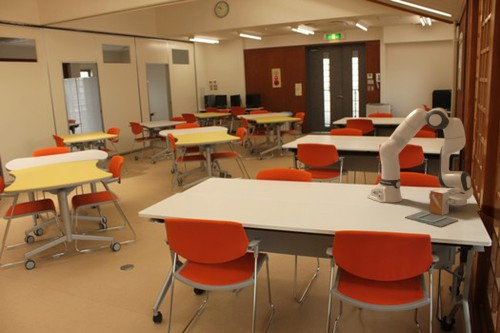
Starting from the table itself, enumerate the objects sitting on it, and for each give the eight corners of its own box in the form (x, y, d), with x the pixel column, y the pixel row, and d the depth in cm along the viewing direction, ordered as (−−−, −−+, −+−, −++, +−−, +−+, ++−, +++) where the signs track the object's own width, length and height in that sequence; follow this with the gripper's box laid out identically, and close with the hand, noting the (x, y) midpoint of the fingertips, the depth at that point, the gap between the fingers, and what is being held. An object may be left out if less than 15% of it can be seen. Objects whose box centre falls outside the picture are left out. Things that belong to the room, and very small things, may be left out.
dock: (404, 218, 250) (404, 215, 250) (422, 212, 259) (422, 210, 259) (440, 227, 232) (440, 225, 232) (458, 220, 241) (458, 218, 241)
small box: (429, 212, 258) (430, 190, 255) (436, 210, 261) (436, 188, 259) (442, 215, 251) (442, 193, 249) (448, 213, 255) (449, 191, 252)
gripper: (437, 188, 270) (423, 192, 262) (469, 194, 253) (455, 199, 246) (436, 198, 271) (422, 202, 264) (469, 205, 255) (455, 210, 247)
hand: (439, 201), depth 255 cm, fingers closed on small box, 8 cm apart
